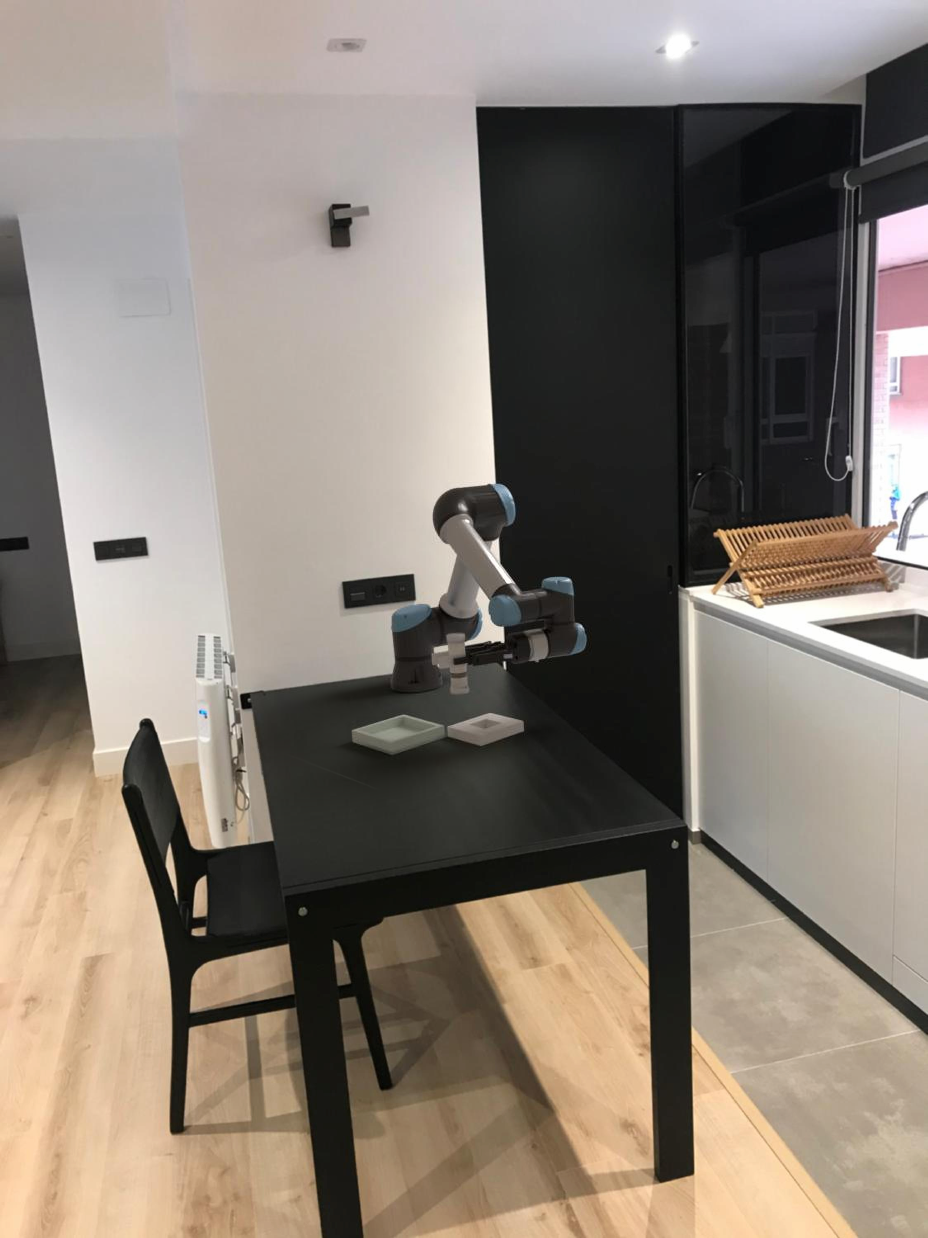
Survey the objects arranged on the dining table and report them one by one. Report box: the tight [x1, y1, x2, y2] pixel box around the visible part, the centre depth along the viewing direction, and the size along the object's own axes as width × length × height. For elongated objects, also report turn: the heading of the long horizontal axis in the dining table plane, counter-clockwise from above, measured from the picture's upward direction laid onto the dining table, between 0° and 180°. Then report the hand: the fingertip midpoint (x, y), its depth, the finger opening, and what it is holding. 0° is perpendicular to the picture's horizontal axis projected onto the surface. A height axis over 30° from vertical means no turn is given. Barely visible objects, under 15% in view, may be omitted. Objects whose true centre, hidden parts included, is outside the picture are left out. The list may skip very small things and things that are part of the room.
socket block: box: [446, 712, 525, 747], centre depth 243 cm, size 14×12×2 cm
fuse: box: [446, 633, 470, 695], centre depth 239 cm, size 4×4×14 cm
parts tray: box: [351, 714, 446, 756], centre depth 244 cm, size 16×16×3 cm
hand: (436, 661), depth 237 cm, fingers closed on fuse, 4 cm apart
